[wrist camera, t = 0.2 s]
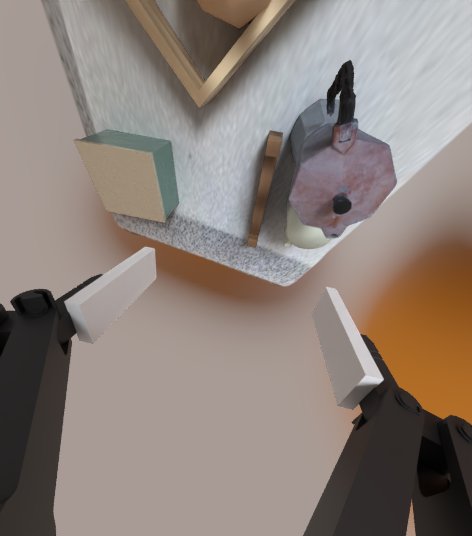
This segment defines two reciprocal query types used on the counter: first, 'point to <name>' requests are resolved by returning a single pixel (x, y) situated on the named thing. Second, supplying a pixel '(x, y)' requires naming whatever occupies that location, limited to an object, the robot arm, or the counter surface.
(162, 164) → the green tea tin
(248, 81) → the counter surface
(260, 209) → the walnut stop rail
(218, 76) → the pine crate
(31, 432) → the robot arm
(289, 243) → the sage mug
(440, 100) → the counter surface
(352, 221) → the moka pot
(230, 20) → the squash
